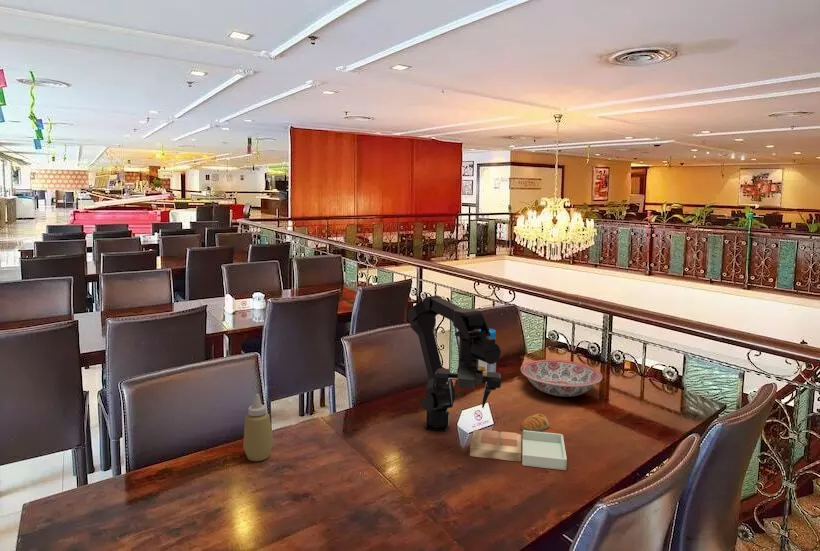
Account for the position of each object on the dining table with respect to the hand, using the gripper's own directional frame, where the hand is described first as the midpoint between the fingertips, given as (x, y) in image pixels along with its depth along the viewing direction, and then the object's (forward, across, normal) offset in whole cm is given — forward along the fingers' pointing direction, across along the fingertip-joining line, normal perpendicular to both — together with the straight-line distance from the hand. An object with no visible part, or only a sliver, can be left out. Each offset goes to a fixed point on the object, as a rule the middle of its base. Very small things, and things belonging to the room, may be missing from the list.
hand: (466, 406), depth 159 cm
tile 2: (+9, +12, -1) cm, 16 cm away
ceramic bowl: (+12, +32, +50) cm, 61 cm away
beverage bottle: (+12, +4, +58) cm, 60 cm away
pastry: (+12, +21, +16) cm, 29 cm away
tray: (+12, +22, -1) cm, 25 cm away
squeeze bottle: (+12, -56, -18) cm, 60 cm away
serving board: (+12, +9, -1) cm, 15 cm away
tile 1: (+9, +7, -1) cm, 12 cm away
